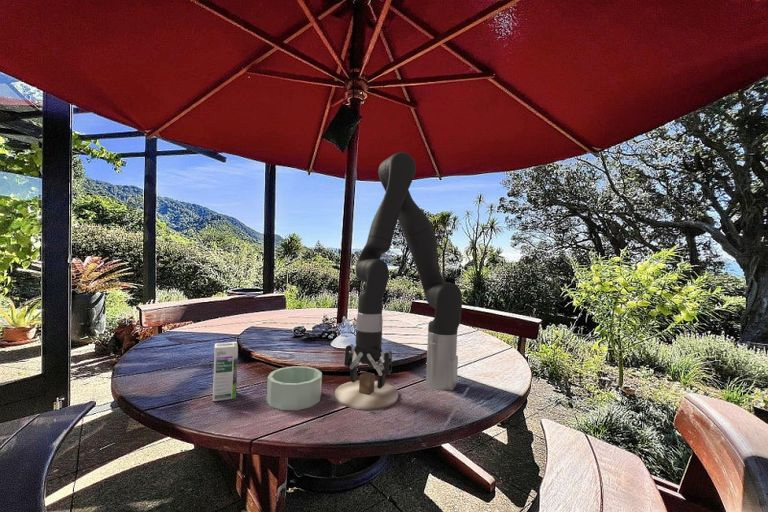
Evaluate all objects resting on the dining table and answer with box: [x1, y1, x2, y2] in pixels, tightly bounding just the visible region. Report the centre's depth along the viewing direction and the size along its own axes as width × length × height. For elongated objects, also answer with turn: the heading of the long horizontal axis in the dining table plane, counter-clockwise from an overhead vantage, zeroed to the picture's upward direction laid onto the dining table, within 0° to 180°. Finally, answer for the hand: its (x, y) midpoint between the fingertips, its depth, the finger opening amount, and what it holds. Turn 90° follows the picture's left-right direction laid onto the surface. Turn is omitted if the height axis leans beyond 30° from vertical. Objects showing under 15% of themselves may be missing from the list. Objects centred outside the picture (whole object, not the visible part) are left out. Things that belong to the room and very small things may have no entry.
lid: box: [334, 371, 399, 411], centre depth 95 cm, size 18×18×6 cm
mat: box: [326, 389, 403, 414], centre depth 95 cm, size 16×16×1 cm
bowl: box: [266, 365, 323, 411], centre depth 91 cm, size 14×14×7 cm
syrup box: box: [212, 341, 239, 402], centre depth 92 cm, size 6×6×14 cm
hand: (366, 384), depth 95 cm, fingers open, 8 cm apart
